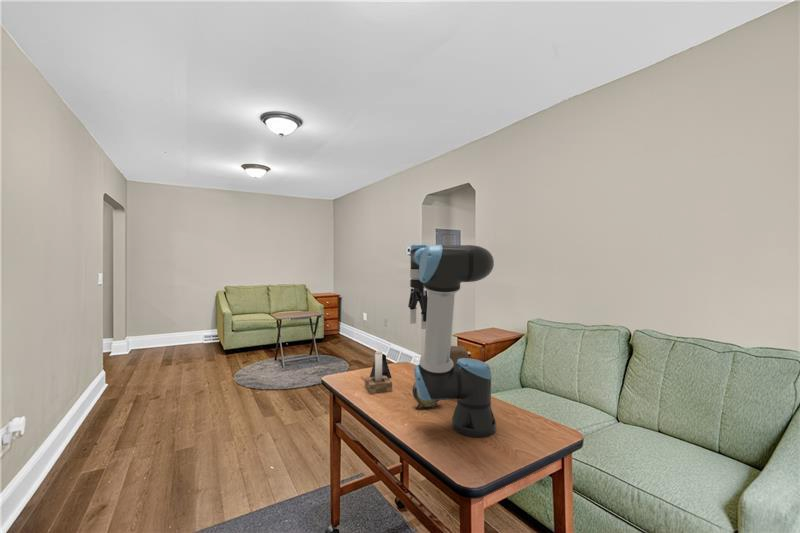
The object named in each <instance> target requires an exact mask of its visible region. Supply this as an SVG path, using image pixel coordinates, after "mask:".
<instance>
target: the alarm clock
mask: <svg viewBox="0 0 800 533" xmlns="http://www.w3.org/2000/svg"><path fill="white" fill-rule="evenodd" d="M412 396H413V398H414V400H415V401H416V403H418V404H417V406H416V407H415V409H416V410H417V409H419V407H420V406H421V407H425V408H426V407H427V408H428V407H432V406H434V405H435V406H436V407H439V404H438V402H439V401H440V400H432V401H431V400H421V399H420V398H419V396H418V392H417V388H416V382H414V384H413V386H412Z"/></svg>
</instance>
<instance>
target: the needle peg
mask: <svg viewBox="0 0 800 533" xmlns="http://www.w3.org/2000/svg"><path fill="white" fill-rule="evenodd" d="M382 354H383V353H382V350H380V349H377V350H376V351H375V353H374V361H375V382H382Z"/></svg>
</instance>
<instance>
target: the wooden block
mask: <svg viewBox="0 0 800 533" xmlns="http://www.w3.org/2000/svg"><path fill="white" fill-rule="evenodd" d="M468 355H469V352H468V351H467V349H466V348H465V346H463V345H451V347H450V359H451V360H452V361H453V363H454V364H457V360H458V359H461V358H468V357H469V356H468Z"/></svg>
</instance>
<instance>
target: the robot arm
mask: <svg viewBox="0 0 800 533" xmlns="http://www.w3.org/2000/svg"><path fill="white" fill-rule="evenodd" d="M409 254H410V255H409V256H410V269H409V271H410V272H409V273H410V274H409V276H410V280H409V281H410V282H409V286H410V296H409V299H408V305H407V306H408V307H407V308H409V310H410V311H409V322H410V324H417V305H418V303H419V306H420V309H421V310H420V311H421V312H420V316H421V318H420V328H421V330H425V333H424V334H425V336H424V355H422V357H420V358H419V364H416V365H414V366H413V367H414V368H413V371H414V380H415V382H416V388H417V392H418V396H419V398H420V399H421V400H431V401H432V400H439V401H442V400H456V405H455V409H454V412H453V414H452V418H451V427H452V429H453V430H454V431H455V432H457V433H459V434H461V435H463V436H466V437H471V438H485V437H489V436H492V435H493V434H494V433H495V432H496V430H497V423H496V419H495V416H494V412H493V410H492V409H493V408H492V379H493V378H492V369H491V367H490V365H489V364H488V363H486V362H484V361H482V360H479V359H475V358H470V357H469V358H461V359H458V360H457V364H454V363H453V361H452V360H451V359H450V347H451V346H452V345H451V344H452V332H453V320H454V309H455V308H454V306H455V294H456V293H457V292H459V291H460V290H461V283H474V282H478V281H479V282H480V281H481V280H484V279H485V278H487V276H489V275H490V274H491V273H492V271H493V270H494V265H495V264H494V263H495V261H494V257H493V255H492V253H491V252H490V251H489V250H488V249H486V248H484V247H482V246H480V245H479V246H478V245H473V244H465V245H463V244H460V245H459V244H435V245H434V244H432V245H427V244H425V243H415V244H411V245H410V251H409ZM415 382H414V383H415Z"/></svg>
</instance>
